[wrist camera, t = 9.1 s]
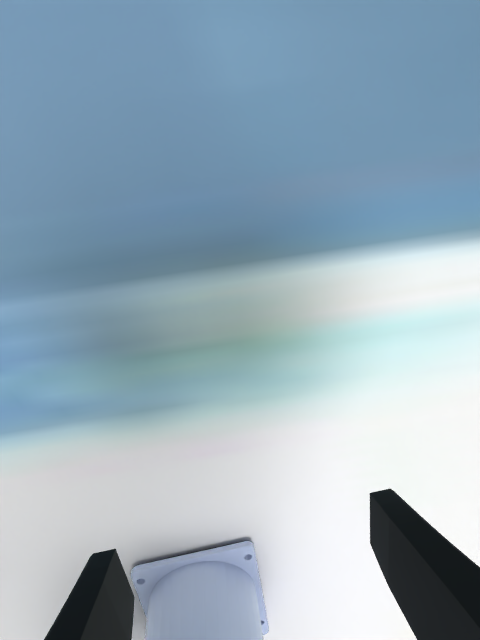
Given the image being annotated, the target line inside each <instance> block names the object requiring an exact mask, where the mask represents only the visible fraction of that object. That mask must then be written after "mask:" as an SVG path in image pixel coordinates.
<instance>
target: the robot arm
mask: <svg viewBox="0 0 480 640" xmlns="http://www.w3.org/2000/svg"><path fill="white" fill-rule="evenodd" d="M370 544H371V546H372V549H373V551H374V553H375V556H376V558H377V561H378V563H379V565H380V568H381V570H382V572H383V575H384V577H385V579H386V582H387V584H388V586H389V588H390V590H391V592H392V594H393V595H394V597H395V599H396V601H397V603H398V605H399V607H400V609H401V610H402V612H403V614H404V616H405V618H406V620H407V622H408V623H409V625H410V627H411V629H412V631H413V633H414V635H415V636H416V638H417V640H480V567H479V566H477V565H476V564H475V563H474V562H473V561H471V560H470V559H469V558H468V557H467V556H466V555H464V554H463V553H462V552H461V551H460V550H459V549H457V548H456V547H455V546H454V545H453V544H451V543H450V542H449V541H448V540H447V539H446V538H445V537H443V536H442V535H441V534H440V533H439V532H438V531H437V530H436V529H434V528H433V527H432V526H431V525H430V524H429V523H428V522H427V521H426V520H424V519H423V518H422V517H421V516H420V515H419V514H418V513H417V512H416V511H415V510H414V509H412V508H411V507H410V506H409V505H408V504H407V503H406V502H405V501H404V500H403V499H402V498H401V497H400V496H399V495H397V494H396V493H395V492H394V491H393V490H392V489H386V490H382V491H377V492H373V493H370ZM131 578H132V581H133V584H134V586H135V589H136V592H137V594H138V597H139V599H140V602H141V605H142V607H143V610H144V613H145V615H146V618H147V623H146V632H145V640H264V639H263V635H265V634H267V633H268V631H269V626H268V621H267V615H266V610H265V604H264V599H263V593H262V588H261V582H260V576H259V571H258V565H257V560H256V554H255V549H254V544H253V543H252V542H250V541H244V542H240V543H235V544H231V545H227V546H222V547H218V548H213V549H209V550H204V551H200V552H195V553H191V554H186V555H182V556H177V557H173V558H168V559H164V560H159V561H155V562H150V563H146V564H141V565H137V566H135V567H134V568H133V569H132V572H131ZM133 611H134V595H133V592H132V590H131V587H130V585H129V582H128V580H127V577H126V574H125V572H124V569H123V567H122V564H121V561H120V559H119V556H118V554H117V551H116V549H112V550H108V551H103V552H99V553H94V554H92V556H91V557H90V558H89V560H88V562H87V564H86V566H85V568H84V569H83V571H82V573H81V575H80V577H79V579H78V580H77V582H76V584H75V586H74V588H73V590H72V591H71V593H70V595H69V597H68V599H67V601H66V602H65V604H64V606H63V608H62V609H61V611H60V613H59V615H58V617H57V618H56V620H55V622H54V624H53V625H52V627H51V629H50V630H49V632H48V634H47V636H46V637H45V639H44V640H131V638H132V626H133Z"/></svg>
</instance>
